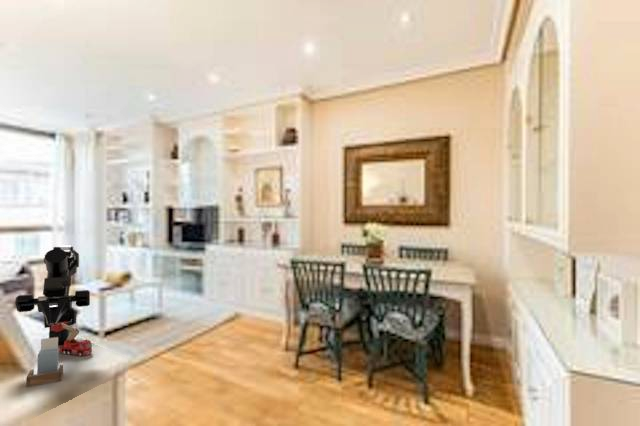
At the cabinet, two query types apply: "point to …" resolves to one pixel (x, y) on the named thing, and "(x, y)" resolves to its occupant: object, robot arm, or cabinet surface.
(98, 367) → the cabinet surface
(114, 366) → the cabinet surface
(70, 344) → the toy fire truck
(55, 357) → the block on wooden base
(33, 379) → the dock
